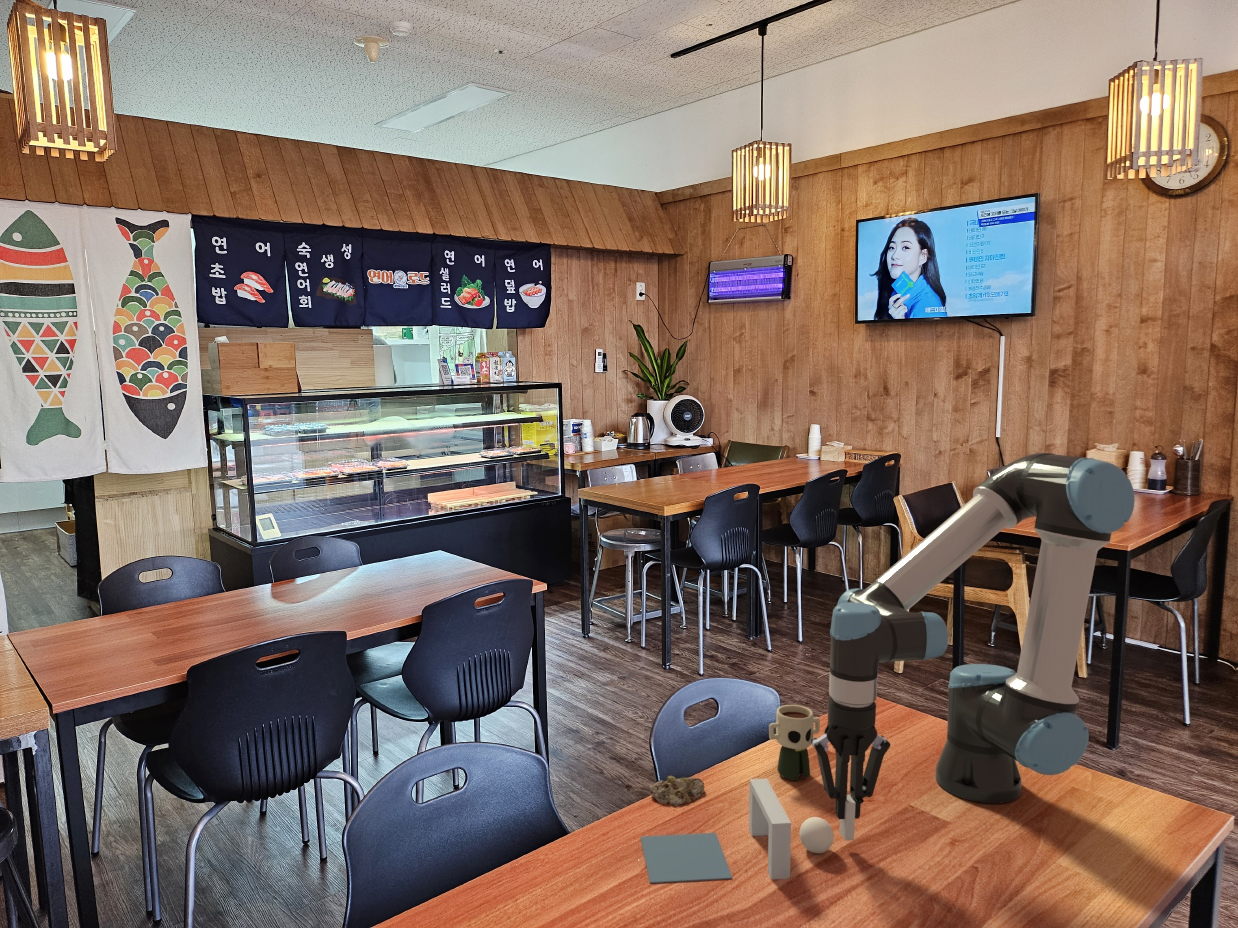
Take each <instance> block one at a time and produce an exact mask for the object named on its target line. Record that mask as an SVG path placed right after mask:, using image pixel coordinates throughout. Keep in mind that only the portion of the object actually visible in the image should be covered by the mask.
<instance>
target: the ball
mask: <svg viewBox="0 0 1238 928" xmlns="http://www.w3.org/2000/svg"><path fill="white" fill-rule="evenodd" d="M834 834H835V833H834V831H833V828H832V826H831V825H830V823H828V821H827V820H826V819H824V818H821V817H820V816H819V817H818V816H812V817H811V816H810V817H809V818H806V820H805V821H803V822H802V823H801V825H800V828H799V839H800V842H801V844H802V845H803V847H804V848H805V849H806V850H808V851H809V852H810V853H814V854H822V853H825V852H827V851H828V850H829V849H830V848H831V847H832V845H833V843H834V838H835V836H834Z"/></svg>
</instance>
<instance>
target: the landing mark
mask: <svg viewBox="0 0 1238 928" xmlns="http://www.w3.org/2000/svg"><path fill="white" fill-rule="evenodd" d="M639 837H640V841H641V846H642V851H643V856H644V862H645V866H647V867H646V871H648V872H647V874H648V875H647V876H648V880H650V881H649V883H650V884H661V883H664V882H666V883H681V882H697V881H698V882H700V881H715V880H718V881H719V880H732V879H733V876H732V873H731V869H730V866H729V865H728V862H727V859H726V856H725V855H724V854H725V853H724V852H723V849H722V846H721V844H720V841H719V839H718V835H717V832H705V833H686V834H685V833H683V834H666V835H645V836H644V835H643V836H639ZM664 884H665V883H664Z"/></svg>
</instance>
